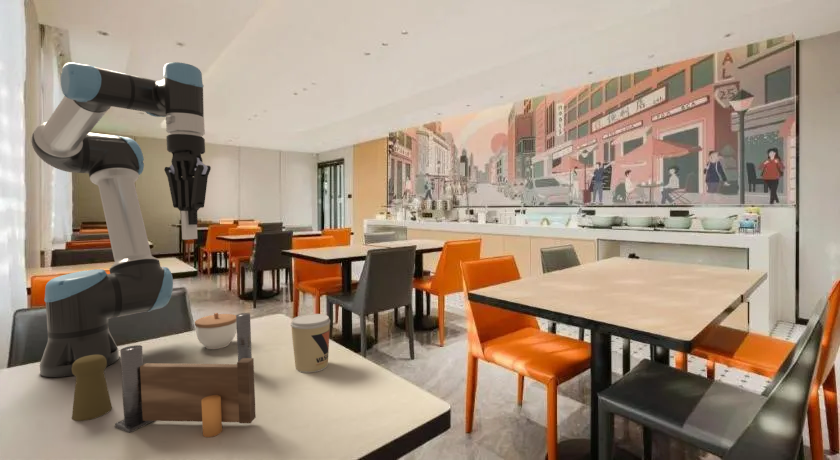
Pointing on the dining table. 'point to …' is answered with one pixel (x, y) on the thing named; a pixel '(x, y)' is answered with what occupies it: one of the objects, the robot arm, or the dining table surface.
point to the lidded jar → (216, 330)
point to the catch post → (211, 415)
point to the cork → (90, 388)
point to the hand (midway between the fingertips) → (189, 238)
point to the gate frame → (132, 378)
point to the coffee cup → (310, 342)
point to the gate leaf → (197, 390)
